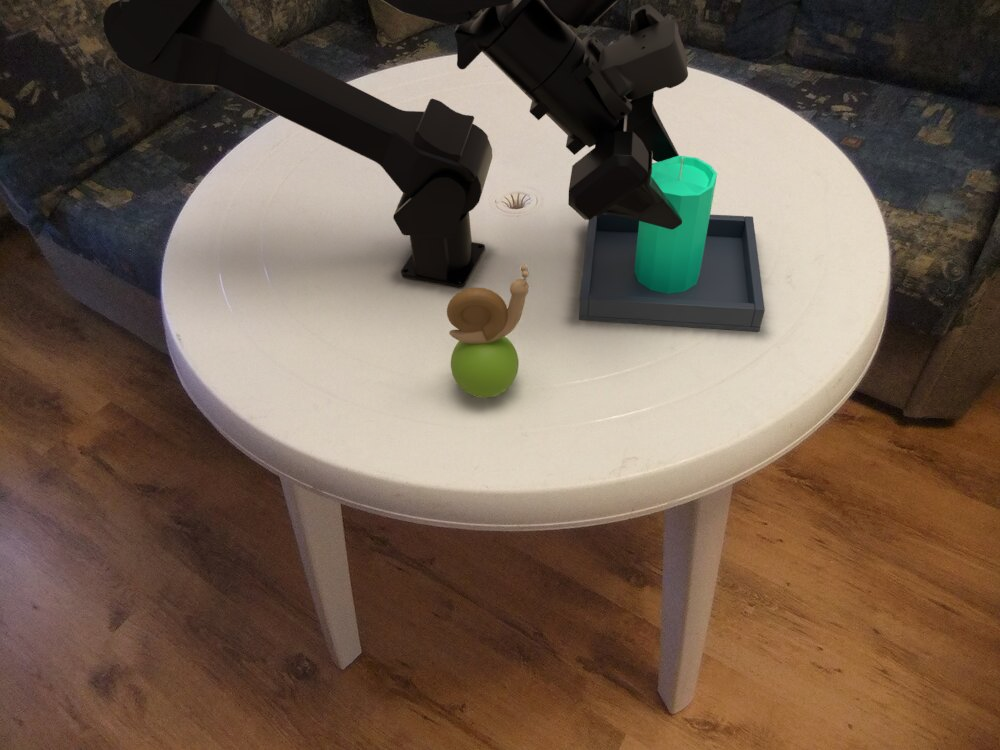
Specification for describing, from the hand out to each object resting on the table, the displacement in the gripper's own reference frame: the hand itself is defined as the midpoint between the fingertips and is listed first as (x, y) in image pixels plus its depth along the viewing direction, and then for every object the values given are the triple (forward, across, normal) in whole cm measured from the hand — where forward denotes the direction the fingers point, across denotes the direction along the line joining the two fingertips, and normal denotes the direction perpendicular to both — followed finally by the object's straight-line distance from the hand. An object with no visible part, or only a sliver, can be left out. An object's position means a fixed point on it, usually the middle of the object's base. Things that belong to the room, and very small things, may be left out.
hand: (677, 193), depth 68 cm
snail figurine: (-3, -16, +16) cm, 23 cm away
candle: (+6, 0, +6) cm, 9 cm away
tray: (+6, 0, +6) cm, 9 cm away
